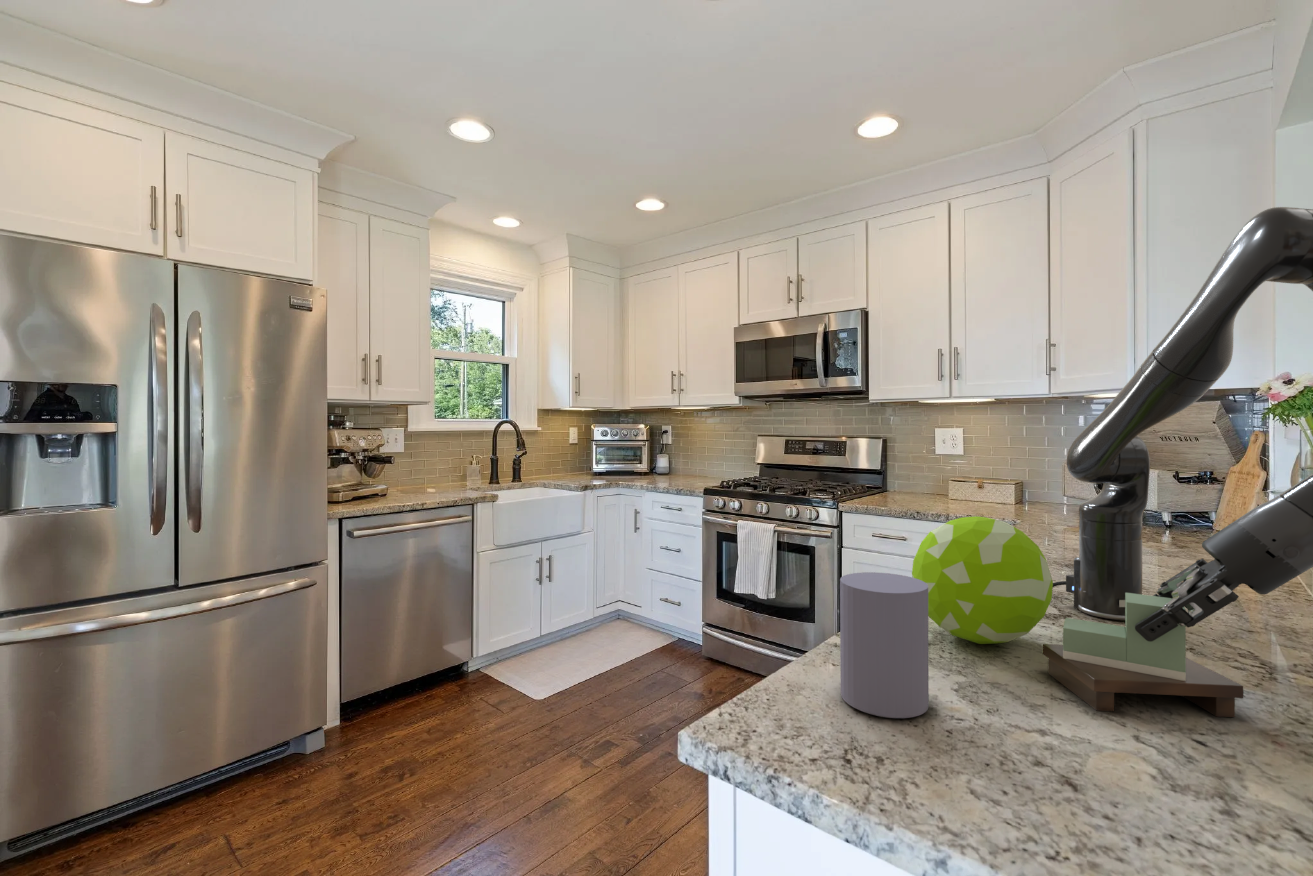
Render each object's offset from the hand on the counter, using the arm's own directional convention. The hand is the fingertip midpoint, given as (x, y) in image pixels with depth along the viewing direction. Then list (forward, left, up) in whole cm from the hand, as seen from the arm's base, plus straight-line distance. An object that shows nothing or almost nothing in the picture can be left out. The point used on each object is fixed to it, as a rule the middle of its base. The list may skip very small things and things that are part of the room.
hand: (1139, 625), depth 75 cm
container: (-10, -31, -9) cm, 34 cm away
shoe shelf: (-1, 0, -9) cm, 9 cm away
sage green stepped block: (-2, -1, -5) cm, 5 cm away
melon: (-23, -1, -9) cm, 25 cm away
